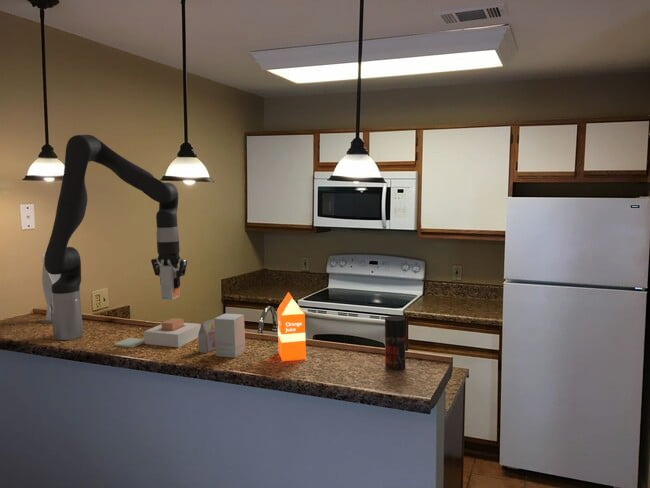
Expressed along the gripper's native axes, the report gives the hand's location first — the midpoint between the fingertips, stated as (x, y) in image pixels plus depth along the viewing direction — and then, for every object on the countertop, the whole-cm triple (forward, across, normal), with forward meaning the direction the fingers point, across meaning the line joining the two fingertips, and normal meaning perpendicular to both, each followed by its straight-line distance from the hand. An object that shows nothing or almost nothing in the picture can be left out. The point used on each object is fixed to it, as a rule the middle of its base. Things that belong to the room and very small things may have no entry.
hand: (170, 287), depth 192 cm
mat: (+19, -12, -8) cm, 24 cm away
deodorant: (+19, +82, -5) cm, 84 cm away
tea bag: (+19, +19, -6) cm, 28 cm away
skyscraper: (+19, -65, +9) cm, 68 cm away
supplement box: (+19, +28, -8) cm, 35 cm away
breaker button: (+16, 0, 0) cm, 16 cm away
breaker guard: (+19, 0, 0) cm, 19 cm away
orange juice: (+19, +48, -4) cm, 52 cm away
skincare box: (+4, 0, 0) cm, 4 cm away
